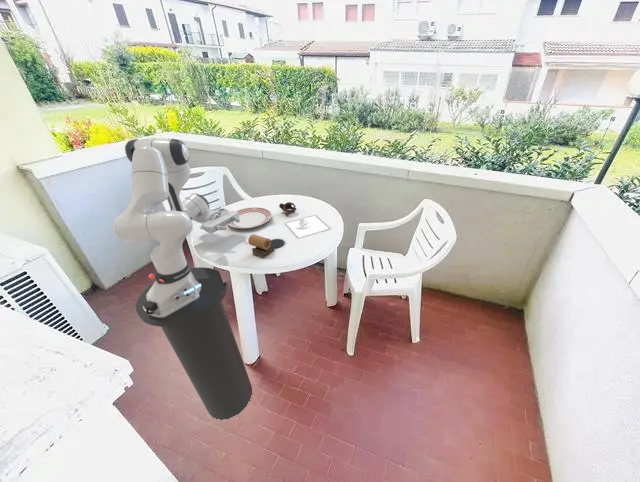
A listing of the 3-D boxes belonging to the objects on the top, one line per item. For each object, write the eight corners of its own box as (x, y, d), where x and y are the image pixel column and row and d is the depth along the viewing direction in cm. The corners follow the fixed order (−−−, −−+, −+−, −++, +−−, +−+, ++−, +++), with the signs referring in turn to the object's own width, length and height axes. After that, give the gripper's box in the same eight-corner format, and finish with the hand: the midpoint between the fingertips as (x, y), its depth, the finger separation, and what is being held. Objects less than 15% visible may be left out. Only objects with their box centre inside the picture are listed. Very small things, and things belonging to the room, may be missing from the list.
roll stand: (263, 258, 146) (262, 252, 144) (253, 254, 148) (251, 248, 146) (274, 250, 152) (273, 244, 150) (264, 246, 155) (262, 240, 152)
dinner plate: (257, 234, 165) (256, 229, 163) (217, 228, 171) (216, 223, 169) (279, 214, 187) (279, 209, 185) (243, 209, 193) (242, 204, 191)
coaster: (277, 249, 152) (277, 249, 152) (264, 245, 155) (264, 245, 155) (287, 242, 159) (287, 241, 159) (274, 238, 162) (274, 237, 162)
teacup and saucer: (306, 221, 179) (306, 215, 177) (312, 226, 174) (311, 220, 171) (293, 224, 175) (293, 219, 173) (298, 230, 170) (298, 224, 168)
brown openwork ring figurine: (298, 210, 194) (298, 202, 187) (293, 220, 190) (293, 214, 182) (281, 204, 194) (280, 197, 186) (276, 215, 189) (275, 208, 182)
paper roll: (264, 251, 145) (262, 241, 142) (249, 247, 148) (247, 237, 145) (271, 246, 149) (270, 236, 146) (257, 242, 153) (255, 232, 150)
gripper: (195, 222, 146) (215, 228, 141) (226, 206, 161) (244, 211, 156) (199, 232, 149) (218, 238, 144) (229, 216, 164) (247, 221, 160)
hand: (232, 224), depth 150 cm, fingers open, 8 cm apart
